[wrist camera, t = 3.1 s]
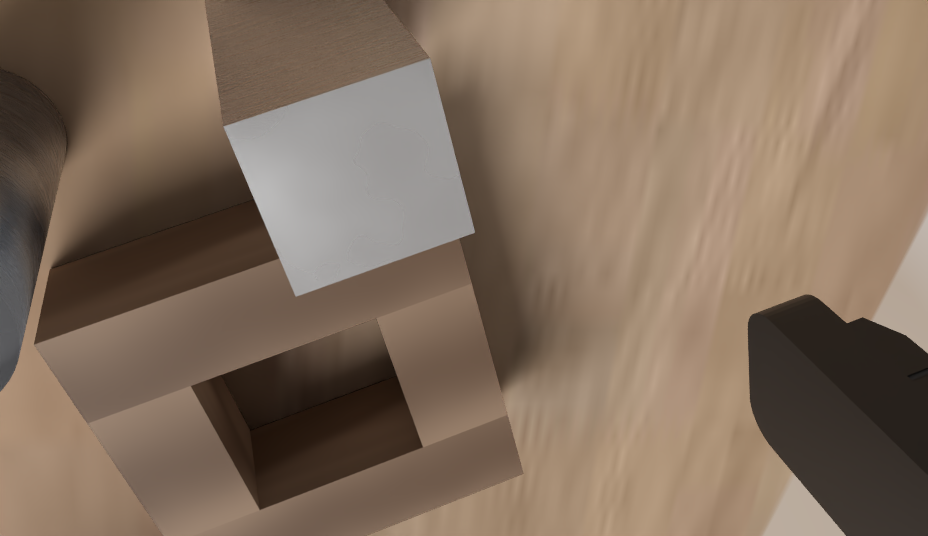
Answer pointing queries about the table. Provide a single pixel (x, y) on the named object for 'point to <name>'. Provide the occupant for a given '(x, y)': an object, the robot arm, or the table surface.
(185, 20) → the table surface
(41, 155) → the round bit
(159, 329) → the socket block
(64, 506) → the table surface
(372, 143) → the square bit
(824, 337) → the robot arm
